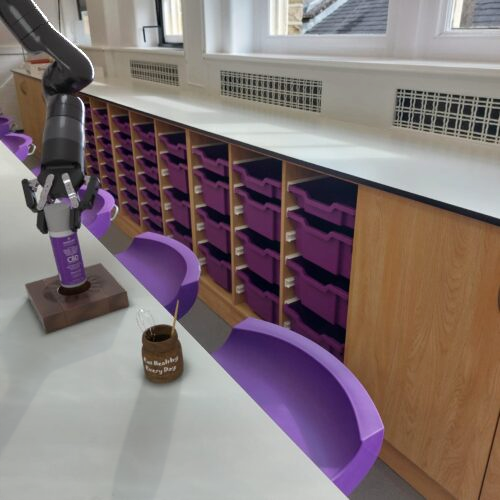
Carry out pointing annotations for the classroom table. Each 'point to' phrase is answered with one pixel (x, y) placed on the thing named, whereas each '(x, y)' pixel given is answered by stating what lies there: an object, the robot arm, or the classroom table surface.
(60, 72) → the robot arm
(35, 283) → the socket plate
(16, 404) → the classroom table surface
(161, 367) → the utensil holder
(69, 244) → the container
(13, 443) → the classroom table surface
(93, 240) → the classroom table surface
